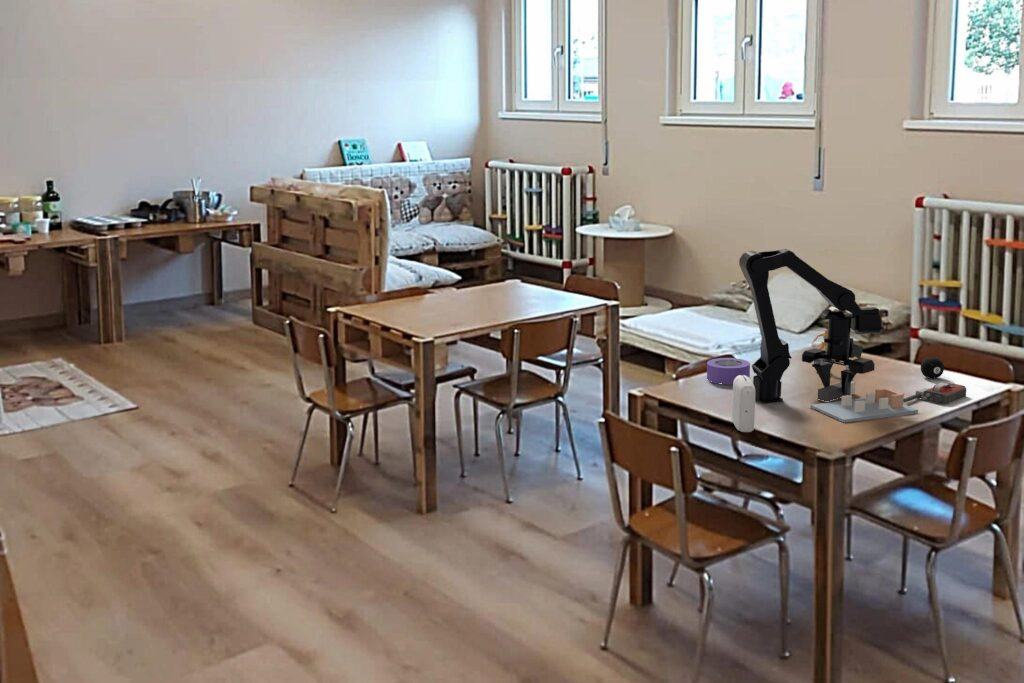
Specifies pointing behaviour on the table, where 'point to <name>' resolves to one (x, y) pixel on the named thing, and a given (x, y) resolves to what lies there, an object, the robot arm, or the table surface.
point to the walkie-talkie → (940, 393)
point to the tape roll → (727, 369)
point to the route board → (861, 408)
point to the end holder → (890, 397)
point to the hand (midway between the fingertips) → (835, 392)
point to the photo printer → (743, 404)
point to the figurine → (822, 342)
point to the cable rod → (834, 391)
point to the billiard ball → (932, 367)
